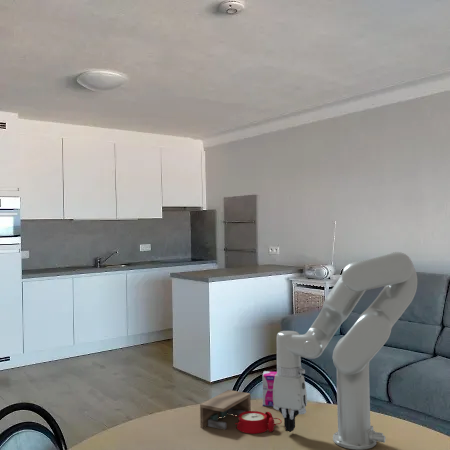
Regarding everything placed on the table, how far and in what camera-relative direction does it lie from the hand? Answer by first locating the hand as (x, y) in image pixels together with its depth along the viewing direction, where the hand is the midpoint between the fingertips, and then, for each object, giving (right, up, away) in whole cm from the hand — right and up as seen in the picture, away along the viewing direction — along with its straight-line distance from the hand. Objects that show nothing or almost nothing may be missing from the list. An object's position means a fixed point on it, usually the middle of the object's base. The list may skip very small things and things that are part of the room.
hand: (289, 430), depth 151 cm
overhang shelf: (-20, -2, +12) cm, 23 cm away
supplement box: (-3, -3, +29) cm, 29 cm away
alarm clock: (-10, -2, +6) cm, 11 cm away
